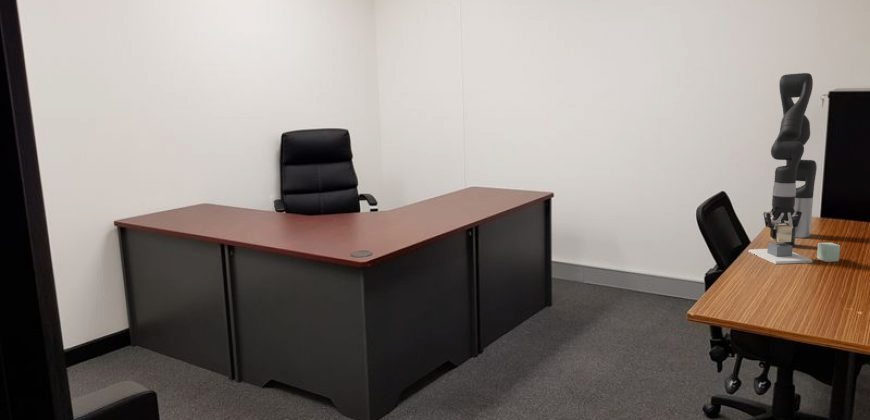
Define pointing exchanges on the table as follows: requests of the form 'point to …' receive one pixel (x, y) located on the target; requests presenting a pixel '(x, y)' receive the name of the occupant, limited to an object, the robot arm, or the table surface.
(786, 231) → the birch block
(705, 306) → the table surface
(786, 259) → the build plate
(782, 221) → the supplement bottle
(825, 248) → the sage block
